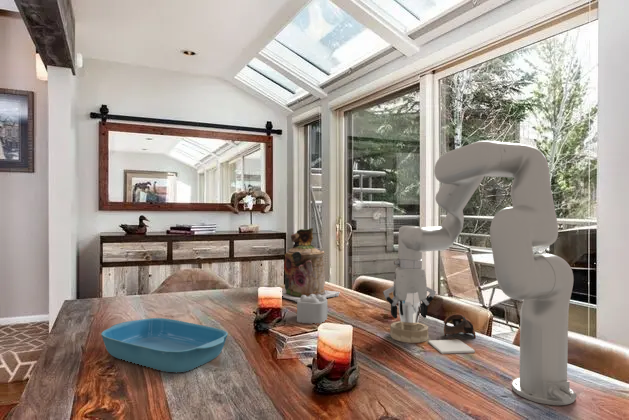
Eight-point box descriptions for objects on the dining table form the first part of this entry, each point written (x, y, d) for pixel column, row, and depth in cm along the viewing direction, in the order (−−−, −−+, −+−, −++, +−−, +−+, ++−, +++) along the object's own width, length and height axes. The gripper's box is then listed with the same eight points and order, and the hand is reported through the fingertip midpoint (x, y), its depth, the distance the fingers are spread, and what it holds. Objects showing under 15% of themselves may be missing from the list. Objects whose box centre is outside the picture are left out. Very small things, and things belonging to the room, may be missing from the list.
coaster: (474, 352, 123) (474, 350, 123) (441, 353, 122) (441, 351, 122) (458, 341, 133) (458, 339, 133) (428, 342, 131) (428, 340, 131)
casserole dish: (243, 355, 119) (243, 330, 119) (185, 385, 100) (185, 354, 100) (149, 336, 136) (149, 314, 136) (84, 358, 116) (84, 332, 116)
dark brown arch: (481, 342, 134) (471, 321, 132) (453, 353, 135) (443, 333, 133) (470, 322, 145) (461, 303, 143) (444, 333, 147) (435, 313, 145)
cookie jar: (308, 288, 216) (309, 225, 215) (341, 296, 197) (342, 227, 196) (267, 294, 200) (268, 226, 199) (299, 304, 181) (300, 229, 180)
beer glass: (395, 338, 135) (396, 291, 135) (401, 332, 142) (402, 287, 141) (417, 341, 132) (417, 293, 132) (422, 335, 138) (423, 289, 138)
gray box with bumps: (293, 321, 154) (294, 298, 154) (305, 313, 166) (305, 291, 166) (321, 324, 150) (321, 300, 150) (331, 315, 163) (331, 293, 163)
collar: (433, 342, 132) (433, 330, 132) (397, 343, 130) (397, 331, 130) (419, 331, 143) (419, 320, 143) (386, 332, 142) (386, 321, 142)
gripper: (387, 266, 132) (386, 320, 132) (440, 265, 134) (439, 319, 134) (380, 262, 139) (379, 314, 140) (431, 262, 142) (430, 313, 142)
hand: (409, 317), depth 137 cm, fingers open, 9 cm apart
